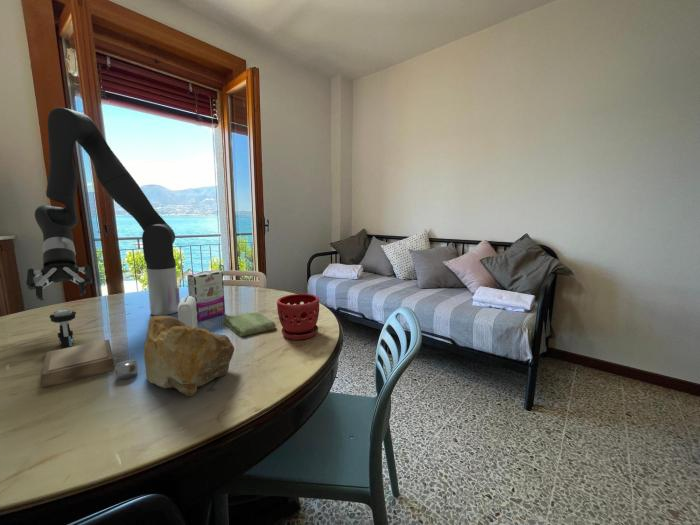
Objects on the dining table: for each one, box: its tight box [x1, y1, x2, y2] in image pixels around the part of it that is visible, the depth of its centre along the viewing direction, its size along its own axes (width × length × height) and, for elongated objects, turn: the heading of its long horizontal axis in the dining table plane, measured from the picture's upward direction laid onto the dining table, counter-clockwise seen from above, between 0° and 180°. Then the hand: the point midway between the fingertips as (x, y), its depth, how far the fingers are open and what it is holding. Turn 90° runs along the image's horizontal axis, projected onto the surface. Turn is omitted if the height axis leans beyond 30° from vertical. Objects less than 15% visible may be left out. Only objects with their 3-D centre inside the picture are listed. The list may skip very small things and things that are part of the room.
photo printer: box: [177, 295, 199, 328], centre depth 91 cm, size 10×4×12 cm, turn 20°
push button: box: [49, 308, 77, 349], centre depth 84 cm, size 7×5×10 cm
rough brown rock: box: [143, 315, 235, 397], centre depth 68 cm, size 23×17×15 cm
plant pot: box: [276, 293, 320, 341], centre depth 94 cm, size 13×13×12 cm
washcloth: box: [223, 311, 276, 337], centre depth 102 cm, size 13×18×3 cm
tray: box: [41, 339, 115, 389], centre depth 73 cm, size 12×14×3 cm
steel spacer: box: [114, 359, 139, 381], centre depth 69 cm, size 4×4×3 cm
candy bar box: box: [186, 270, 226, 323], centre depth 109 cm, size 11×5×16 cm, turn 148°
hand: (62, 296), depth 89 cm, fingers open, 8 cm apart
